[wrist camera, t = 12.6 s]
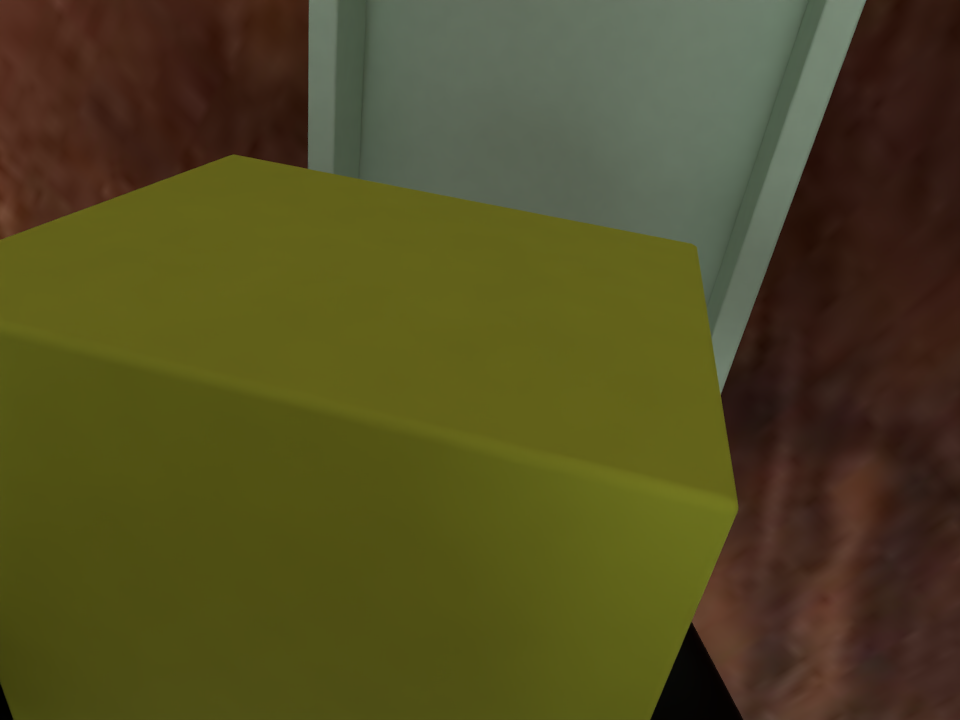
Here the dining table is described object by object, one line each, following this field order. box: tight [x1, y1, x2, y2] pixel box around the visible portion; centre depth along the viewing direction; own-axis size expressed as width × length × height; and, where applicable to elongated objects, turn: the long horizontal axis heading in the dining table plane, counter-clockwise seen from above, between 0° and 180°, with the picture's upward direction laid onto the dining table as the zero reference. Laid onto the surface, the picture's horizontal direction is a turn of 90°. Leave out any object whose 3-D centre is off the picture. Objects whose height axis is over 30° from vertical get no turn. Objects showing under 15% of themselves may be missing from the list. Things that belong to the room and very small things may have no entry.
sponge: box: [0, 155, 738, 720], centre depth 7 cm, size 5×7×4 cm
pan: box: [308, 0, 866, 395], centre depth 15 cm, size 10×17×2 cm, turn 172°
